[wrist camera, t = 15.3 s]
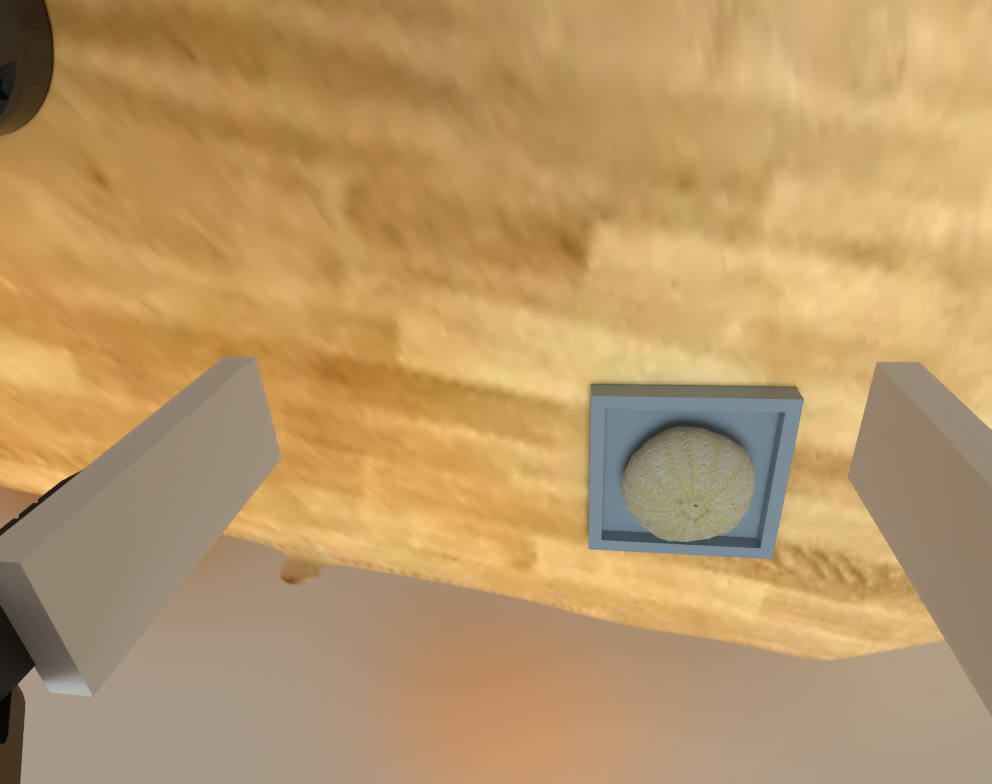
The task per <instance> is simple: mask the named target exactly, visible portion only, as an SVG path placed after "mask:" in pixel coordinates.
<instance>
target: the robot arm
mask: <svg viewBox="0 0 992 784" xmlns="http://www.w3.org/2000/svg"><path fill="white" fill-rule="evenodd" d="M51 68H52V44H51V35H50V28H49V23H48V19H47V15H46V11H45V7H44V4H43V1H42V0H0V136H2V135H5V134H8V133H11V132H13V131H15V130H17V129H19V128H20V127H22V126H23V125H24V124H26V123H27V122H28V121H29V120H30V119H31V118H32V117H33V116H34V115H35V113H36V112H37V110H38V109H39V107H40V106H41V104H42V102H43V100H44V97H45V95H46V92H47V89H48V86H49V81H50V76H51ZM281 458H282V457H281V453H280V449H279V445H278V442H277V438H276V434H275V430H274V426H273V422H272V419H271V415H270V411H269V407H268V403H267V399H266V396H265V392H264V388H263V384H262V380H261V376H260V373H259V369H258V365H257V361H256V357H224V358H222V359H221V360H220V361H219V362H217V363H216V364H215V365H214V366H212V367H211V368H210V369H209V370H207V371H206V372H205V373H204V374H202V375H201V376H200V377H199V378H197V379H196V380H195V381H194V382H192V383H191V384H190V385H189V386H187V387H186V388H185V389H184V390H182V391H181V392H180V393H179V394H177V395H176V396H175V397H174V398H172V399H171V400H170V401H169V402H167V403H166V404H165V405H164V406H162V407H161V408H160V409H159V410H157V411H156V412H155V413H154V414H152V415H151V416H150V417H149V418H147V419H146V420H145V421H144V422H142V423H141V424H140V425H139V426H137V427H136V428H135V429H134V430H132V431H131V432H130V433H129V434H127V435H126V436H125V437H124V438H122V439H121V440H120V441H119V442H117V443H116V444H115V445H114V446H112V447H111V448H110V449H109V450H107V451H106V452H105V453H104V454H102V455H101V456H100V457H99V458H97V459H96V460H95V461H94V462H92V463H91V464H90V465H89V466H87V467H86V468H85V469H83V470H81V471H80V472H78V473H76V474H74V475H72V476H70V477H68V478H66V479H64V480H62V481H61V482H59V483H58V484H57V485H56V486H54V487H53V488H52V489H51V490H49V491H48V492H47V493H45V494H44V495H43V496H42V497H40V498H39V499H38V503H33V504H32V505H30V506H29V507H28V508H27V509H25V510H24V511H23V512H22V513H20V514H19V518H18V519H13V520H11V521H10V522H9V523H7V524H6V525H5V526H4V527H2V528H1V529H0V784H20V777H21V762H22V746H23V731H24V714H25V699H24V696H23V692H22V691H21V689H20V688H19V686H18V683H19V682H20V681H21V680H22V679H23V678H24V677H25V676H26V675H27V674H28V673H29V671H30V670H31V669H32V668H33V667H35V668H36V670H37V672H38V673H39V675H40V676H41V678H42V680H43V682H44V683H45V685H46V687H47V688H48V690H49V691H50V692H53V693H63V694H73V695H83V696H94V695H95V693H96V692H97V691H98V690H99V688H100V687H101V686H102V685H103V683H104V682H105V681H106V679H107V678H108V677H109V676H110V674H111V673H112V672H113V671H114V669H115V668H116V667H117V666H118V664H119V663H120V662H121V660H122V659H123V658H124V657H125V655H126V654H127V653H128V652H129V650H130V649H131V648H132V646H133V645H134V644H135V642H136V641H137V640H138V639H139V638H140V636H141V635H142V634H143V633H144V631H145V630H146V629H147V628H148V626H149V625H150V624H151V622H152V621H153V620H154V619H155V617H156V616H157V615H158V613H159V612H160V611H161V610H162V609H163V607H164V606H165V605H166V603H167V602H168V601H169V600H170V598H171V597H172V596H173V595H174V593H175V592H176V591H177V589H178V588H179V587H180V586H181V584H182V583H183V582H184V581H185V579H186V578H187V577H188V576H189V574H190V573H191V572H192V571H193V569H194V568H195V566H197V564H198V563H199V561H200V560H201V559H202V558H203V557H204V555H205V554H206V553H207V551H208V550H209V549H210V548H211V546H212V545H213V544H214V543H215V541H216V540H217V539H218V538H219V536H220V535H221V534H222V533H223V531H224V530H225V529H226V528H227V526H228V525H229V524H230V523H231V521H232V520H233V519H234V517H235V516H236V515H237V514H238V512H239V511H240V510H241V509H242V507H243V506H244V505H245V504H246V502H247V501H248V500H249V498H250V497H251V496H252V495H253V493H254V492H255V491H256V490H257V488H258V487H259V486H260V485H261V483H262V482H263V481H264V479H265V478H266V477H267V476H268V474H269V473H270V472H271V471H272V469H273V468H274V467H275V466H276V464H277V463H278V462H279V461H280V459H281ZM848 478H849V480H850V482H851V483H852V485H853V487H854V488H855V490H856V492H857V493H858V495H859V497H860V498H861V500H862V502H863V503H864V505H865V507H866V508H867V510H868V512H869V513H870V515H871V517H872V518H873V520H874V522H875V523H876V525H877V527H878V528H879V530H880V532H881V533H882V535H883V537H884V538H885V540H886V541H887V543H888V545H889V546H890V548H891V550H892V551H893V553H894V555H895V556H896V558H897V560H898V561H899V563H900V565H901V566H902V568H903V570H904V571H905V573H906V575H907V576H908V578H909V580H910V581H911V583H912V585H913V586H914V588H915V590H916V591H917V593H918V595H919V596H920V598H921V600H922V601H923V603H924V605H925V606H926V608H927V610H928V611H929V613H930V615H931V616H932V618H933V620H934V621H935V623H936V625H937V626H938V628H939V630H940V631H941V633H942V635H943V636H944V638H945V640H946V641H947V643H948V645H949V646H950V648H951V650H952V651H953V653H954V655H955V656H956V658H957V660H958V661H959V663H960V665H961V666H962V668H963V670H964V671H965V673H966V674H967V676H968V678H969V680H970V681H971V683H972V685H973V686H974V688H975V689H976V691H977V693H978V694H979V696H980V698H981V699H982V701H983V703H984V704H985V706H986V708H987V710H988V711H989V713H990V714H991V716H992V430H991V429H990V428H989V427H988V426H987V425H986V424H985V423H984V422H982V421H981V420H980V419H979V418H978V417H977V416H976V415H975V414H974V413H973V412H972V411H971V410H970V409H969V408H968V407H966V406H965V405H964V404H963V403H962V402H961V401H960V400H959V399H958V398H957V397H956V396H955V395H954V394H953V393H952V392H950V391H949V390H948V389H947V388H946V387H945V386H944V385H943V384H942V383H941V382H940V381H939V380H938V379H937V378H936V377H935V376H933V375H932V374H931V373H930V372H929V371H928V370H927V369H926V368H925V367H924V366H923V365H922V364H921V363H920V362H877V363H876V367H875V371H874V375H873V379H872V383H871V387H870V391H869V395H868V399H867V403H866V407H865V411H864V415H863V419H862V423H861V427H860V431H859V434H858V438H857V442H856V446H855V450H854V454H853V458H852V462H851V466H850V470H849V474H848Z"/></svg>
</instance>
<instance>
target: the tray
mask: <svg viewBox="0 0 992 784" xmlns="http://www.w3.org/2000/svg"><path fill="white" fill-rule="evenodd" d="M803 401H804V399H803V397H802V396H801V394H800V393H799V391H798V389H797V388H796V387H753V386H681V385H609V384H591V428H590V491H589V549H594V550H613V551H631V552H650V553H668V554H687V555H705V556H724V557H743V558H761V559H772V558H773V553H774V548H775V543H776V538H777V533H778V528H779V522H780V517H781V512H782V507H783V502H784V497H785V492H786V487H787V482H788V477H789V472H790V467H791V462H792V457H793V452H794V447H795V442H796V437H797V431H798V426H799V421H800V416H801V411H802V406H803ZM678 426H686V427H699V428H700V427H702V428H704V429H707V430H710V431H711V432H714V433H717V434H721V435H723V436H726V437H728V438H729V439H731V440H732V441H734V442H735V443H737V444H738V445H740V446H741V447H743V448H744V449H746V452H747V453H748V455H749V456H750V458H751V459H752V460H753V465H754V471H755V481H756V482H755V485H756V486H755V488H754V492H753V495H752V498H751V504H750V508H749V509H748V511H747V512H746V513H745V514H744V516H743V518H742V520H741V521H740V522H739V525H737V526H735V527H734V528H733V529H731V530H730V532H727V533H723V534H721V535H717V536H714V537H712V538H710V539H703V540H695V541H689V542H685V541H683V542H679V541H670V542H669V541H667V540H664V539H660V538H658V537H656V536H655V535H653V534H652V533H651V532H649V531H648V530H647V529H645V528H644V527H642V526H641V524H639V522H638V521H637V520H636V519H635V518H634V516H633V515H632V514H631V513H630V512H629V511H628V509H627V507H626V503H625V500H624V496H623V493H622V490H621V480H622V474H623V471H624V469H625V468H626V466H627V465H628V463H629V461H630V459H631V457H632V455H634V453H635V452H637V451H638V450H639V449H640V448H641V447H642V446H643V445H644V443H645V442H647V441H648V439H651V438H653V437H654V436H656V435H658V434H660V433H661V432H663V431H665V430H666V429H670V428H674V427H678Z"/></svg>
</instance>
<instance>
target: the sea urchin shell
mask: <svg viewBox="0 0 992 784" xmlns="http://www.w3.org/2000/svg"><path fill="white" fill-rule="evenodd" d="M755 482H756V481H755V471H754V465H753V460H752V459H751V458H750V456H749V455H748V453H747V452H746V449H744V448H743V447H741V446H740V445H738V444H737V443H735V442H734V441H732V440H731V439H729V438H728V437H726V436H723V435H721V434H717V433H714V432H711V431H710V430H707V429H704V428H702V427H700V428H699V427H686V426H678V427H674V428H670V429H666V430H665V431H663V432H661V433H660V434H658V435H656V436H654V437H653V438H651V439H648V441H647V442H645V443H644V445H643V446H642V447H641V448H640V449H639V450H638V451H637V452H635V453H634V455H632V457H631V459H630V461H629V463H628V465H627V466H626V468H625V469H624V471H623V474H622V480H621V490H622V493H623V496H624V500H625V503H626V507H627V509H628V511H629V512H630V513H631V514H632V515H633V516H634V518H635V519H636V520H637V521H638V522H639V524H641V526H642V527H644V528H645V529H647V530H648V531H649V532H651V533H652V534H653V535H655V536H656V537H658V538H660V539H664V540H667V541H669V542H670V541H679V542H683V541H685V542H689V541H695V540H703V539H710V538H712V537H714V536H717V535H721V534H723V533H727V532H730V530H731V529H733V528H734V527H735V526H737V525H739V522H740V521H741V520H742V518H743V516H744V514H745V513H746V512H747V511H748V509H749V508H750V504H751V498H752V495H753V492H754V488H755V486H756V485H755Z"/></svg>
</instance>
